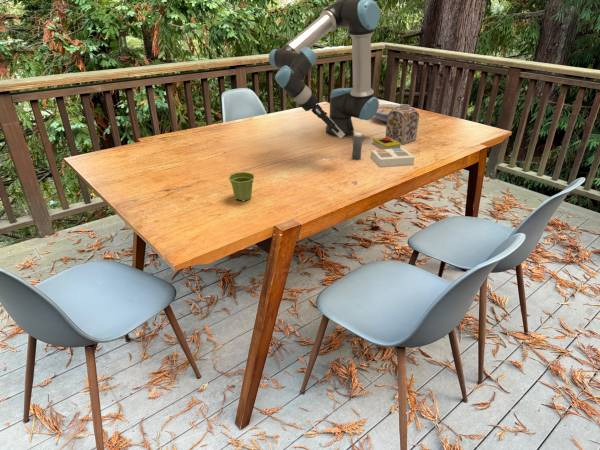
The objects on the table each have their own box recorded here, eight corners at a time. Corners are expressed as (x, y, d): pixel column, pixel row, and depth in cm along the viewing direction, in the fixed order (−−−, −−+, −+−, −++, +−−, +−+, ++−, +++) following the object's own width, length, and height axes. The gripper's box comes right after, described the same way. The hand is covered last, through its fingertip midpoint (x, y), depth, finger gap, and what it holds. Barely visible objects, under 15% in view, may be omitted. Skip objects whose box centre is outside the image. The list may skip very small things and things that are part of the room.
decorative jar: (402, 145, 208) (407, 109, 199) (384, 139, 216) (388, 104, 207) (416, 140, 215) (422, 105, 206) (398, 134, 223) (402, 100, 214)
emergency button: (386, 133, 212) (404, 142, 200) (385, 141, 214) (403, 151, 202) (371, 136, 208) (389, 145, 196) (370, 144, 210) (388, 154, 199)
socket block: (370, 157, 194) (371, 149, 192) (402, 155, 196) (403, 147, 194) (379, 167, 183) (380, 158, 181) (413, 164, 186) (414, 156, 184)
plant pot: (231, 192, 160) (229, 172, 156) (255, 192, 161) (254, 171, 156) (229, 204, 152) (227, 182, 148) (255, 203, 153) (254, 181, 148)
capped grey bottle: (350, 157, 194) (352, 132, 188) (358, 156, 194) (361, 131, 188) (353, 160, 190) (355, 134, 184) (361, 159, 191) (363, 134, 185)
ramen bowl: (369, 114, 256) (371, 101, 252) (407, 116, 253) (409, 102, 249) (370, 126, 234) (371, 112, 230) (411, 128, 232) (413, 114, 228)
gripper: (294, 97, 185) (325, 129, 195) (305, 113, 164) (340, 147, 174) (305, 85, 183) (336, 117, 193) (319, 98, 162) (353, 134, 172)
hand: (338, 131), depth 184 cm, fingers open, 13 cm apart
